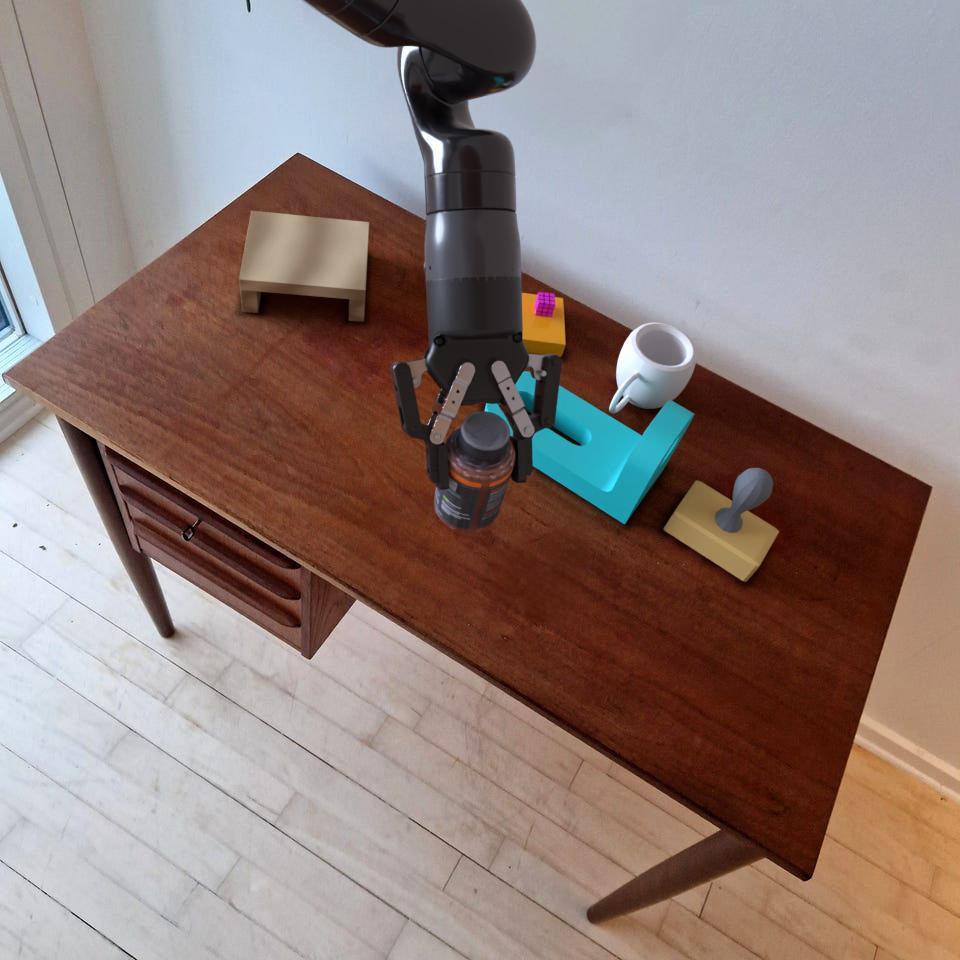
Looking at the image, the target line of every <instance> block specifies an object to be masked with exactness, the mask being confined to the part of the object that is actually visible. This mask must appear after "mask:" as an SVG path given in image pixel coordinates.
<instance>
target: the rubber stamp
mask: <svg viewBox="0 0 960 960" xmlns="http://www.w3.org/2000/svg"><path fill="white" fill-rule="evenodd" d="M773 487H774V480H773V479H772V476H771V474H770V473H769V472H768V471H767V470H765V469H763V468H760V467H750V468H747V469H745V470H744V471H743V472H741V473H740V474H739V475H738V476H737V477H736V479H735V481H734V485H733V489H732V500H731V499H730V498H728V497H727V496H725V495H723V494H722V493H720V492H718V491H717V490H715V489H714V488H712V487H710V486H709V485H707V484H705V483H704V482H702V481H700V480H695V481H694V483H693V484H692V485H691V487H690V488H689V489H688V491H687V493H686V494H685V495H684V497H683V498H682V500H681V501H680V503H679V504H678V505H677V507H676V508H675V509H674V511H673V513H672V514H671V515H670V518H669V519H668V520H667V522H666V524H665V525H664V527H663V531H664V532H666V533H667V534H669V535H671V536H672V537H674V538H675V539H676V540H678V541H680V542H682V543H683V544H684V545H686V546H687V547H689V548H691V549H693V550H694V551H695V552H697V553H698V554H700V555H701V556H703V557H705V558H706V559H708V560H710V561H711V562H713V563H714V564H715V565H717V566H719V567H720V568H722V569H723V570H724V571H726V572H727V573H730V574H731V575H733V576H734V577H735V578H737V579H738V580H740V581H742V582H745V583H747V582H748V581H749V579H750V578H751V577H752V576H754V574H755V573H756V571H757V570H758V569H759V568H760V566H761V565H762V562H763V561H764V560H765V557H766V556H767V554H768V552H769V550H770V549H771V547H772V545H773V543H775V540H776V538H777V537H778V534H779V533H780V530H778V529H777V528H776V527H775V526H774V525H772V524H770V523H769V522H767V521H765V520H763V519H762V518H761V517H758V516H757V515H756V514H753V513H752V512H751V511H750V510H753V509H755V508H757V507H759V506H761V505H762V504H763V503H765V502H766V501H767V500H768V499H770V496H771V495H772V493H773Z"/></svg>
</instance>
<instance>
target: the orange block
mask: <svg viewBox="0 0 960 960" xmlns="http://www.w3.org/2000/svg"><path fill="white" fill-rule="evenodd" d="M555 294H556V293H553V292H545V291H537V294H534V293H529V292H528V293H527V292H522V321H523V343H524V346H525V348H526V349H527V351H528V354H537V355H542V354H554V355H558V356H559V357H560V358H562V357H563V355H564V351H565V349H566V346H567V344H566V343H567V341H566V339H567V338H566V322H565V321H566V320H565V304H564V297H557V296H556V295H555Z"/></svg>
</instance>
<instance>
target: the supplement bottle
mask: <svg viewBox="0 0 960 960" xmlns="http://www.w3.org/2000/svg"><path fill="white" fill-rule="evenodd" d="M444 443H445V444H447V452H448V475H449V489H445V490H439V489H438V488H437V487H436V486H435V492H434V499H433V505H434V511H435V513H436V516H437V517H438V519H439V520H440V521H441V523H443V524H444V525H445V526H446V527H447V528H450V529H451V530H453V531H455V532H459V533H464V534H476V533H481V532H482V531H485V530H486V529H488V528H490V527H491V526H492V525H493V524H494V522H496V520H497V518H498V516H499V514H500V511H501V508H502V504H503V501H504V498H505V496H506V492H507V489H508V485H509V483H510V479H511V473H512V470H513V467H514V463H515V449H514V445H513V443H512V441H511V439H510V429H509V426H508V424H507V423H506V421H505V420H504V419H503V418H501V417H500V416H499V415H497V414H495V413H492V412H487V411H485V410H478V411H473V412H472V413H470V414H468V415H466V417H465V418H464V419H463V420H462V422H461V425H459V426H457V427H456V428H455V429H454V430H452V432H450V434H449V435H448V437H447V439H446V441H445V442H444Z"/></svg>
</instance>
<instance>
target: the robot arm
mask: <svg viewBox="0 0 960 960" xmlns="http://www.w3.org/2000/svg"><path fill="white" fill-rule="evenodd" d="M300 1H301V2H302V3H304V4H305V5H307V6H308V7H310V8H312V9H313V10H314V11H316V12H317V13H319V14H320V15H322V16H324V17H326V18H327V19H328V20H330V21H331V22H333V23H335V24H336V25H337V26H339V27H341V28H343V29H344V30H345V31H347V32H348V33H350V34H351V35H353V36H354V37H356V38H357V39H358V40H359V39H360V40H361V41H363V42H365V43H367V44H369V45H372V46H374V47H378V48H385V49H391V48H397V51H396V66H397V73H398V78H399V83H400V86H401V91H402V94H403V97H404V101H405V104H406V107H407V111H408V114H409V117H410V120H411V124H412V128H413V132H414V135H415V138H416V142H417V145H418V147H419V151H420V155H421V157H422V162H423V179H424V180H423V181H424V195H425V196H424V198H425V199H424V201H425V233H424V262H423V274H424V276H425V292H426V313H427V314H426V315H427V333H428V334H427V336H428V337H427V338H428V344H427V349H426V351H425V353H424V355H423V358H418V359H412V360H408V361H401V360H395V361H393V362H392V363H391V364H390V367H389V371H390V377H391V381H392V386H393V390H394V396H395V400H396V401H395V402H396V405H397V412H398V415H399V422H400V426H401V430H402V431H403V433H404V434H406V435H408V436H409V437H410V438H412V439H418V440H421V441H423V442H424V444H425V459H426V461H425V462H426V476H427V478H428V480H429V481H430V482H431V483H432V484H434V485H435V488H436V487H437V488H438V489H439V490H445V489H449V475H448V452H447V444H445V443H446V442H445V439H446V437H447V434H448V432H449V429H450V427H451V424H452V422H453V421H454V419H455V418H456V417H457V414H458V412H459V409H460V407H461V406H462V407H466V406H468V407H469V406H474V405H476V404H479V403H485V404H486V403H489V404H498V406H499V407H500V409H501V410H502V412H503V413H504V415H505V417H506V419H507V421H508V423H509V425H510V426H511V428H512V430H513V436H510V439H511V441H512V443H513V445H514V449H515V463H514V467H513V470H512V473H511V476H510V479H511V480H512V481H513V482H515V484H524V483H527V479H528V477H527V476H531V475H532V473H533V470H534V466H533V457H532V456H533V453H532V438H533V436H534V434H535V433H536V432H538V431H540V430H542V429H545V428H548V429H551V428H552V427H553V425H554V423H555V417H556V409H557V400H558V391H559V386H560V381H561V373H562V364H563V360H562V357H559V356H558V355H554V354H534V353H528V351H527V349H526V348H525V346H524V343H523V321H522V293H523V287H522V286H523V285H522V284H523V283H522V282H523V281H522V251H521V250H522V248H521V246H522V245H521V236H520V231H519V225H518V224H519V223H518V215H517V213H516V212H517V181H516V179H517V178H516V158H515V150H514V146H513V143H512V141H511V140H510V138H509V137H508V136H507V135H505V134H504V133H502V132H500V131H497V130H493V129H486V128H479V127H476V126H475V124H474V121H473V118H472V115H471V112H470V107H469V101H472V100H476V99H480V98H483V97H488V96H491V95H497V94H500V93H503V92H506V91H509V90H510V89H512V88H514V87H515V86H518V85H519V84H520V83H521V82H522V81H524V79H525V78H526V77H527V76H528V74H529V73H530V71H531V69H532V66H533V64H534V61H535V59H536V53H537V34H536V30H535V25H534V23H533V20H532V17H531V15H530V12H529V11H528V9H527V7H526V6H525V4H524V2H523V1H522V0H300ZM527 367H528V368H529V372H531V376H532V378H533V379H535V380H536V383H535V392H534V401H533V410H532V413H531V414H528V411H527V410H525V405H524V403H523V401H522V399H521V397H520V395H519V393H518V391H517V389H516V386H515V384H516V383H517V381H518V379H519V378H520V376H521V375H522V373H523V372H524V371H525V370H526V368H527ZM425 372H426V373H427V374H428V375H429V377H431V379H432V380H433V382H434V384H436V385H437V386H438V388H439V390H438V393H437V395H436V397H435V400H434V402H433V404H432V407H431V408H432V409H431V412H430V415H429V418H428V420H427V423H423V422H422V421H421V415H420V411H419V406H418V400H417V395H416V391H415V389H416V388H418V387H419V386H420V385H421V384H422V377H423V374H424V373H425Z"/></svg>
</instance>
